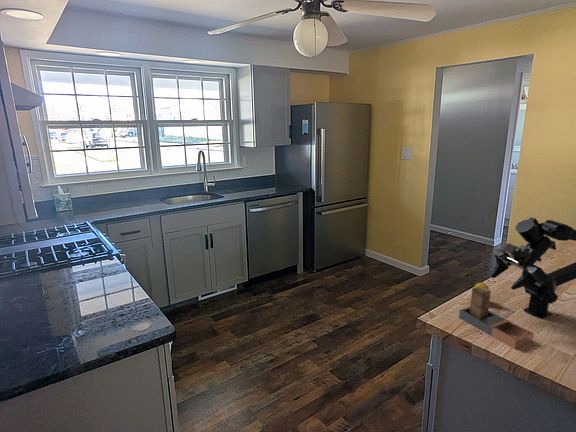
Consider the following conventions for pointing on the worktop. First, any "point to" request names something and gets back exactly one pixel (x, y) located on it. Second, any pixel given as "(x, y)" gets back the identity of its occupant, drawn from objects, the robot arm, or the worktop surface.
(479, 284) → the lemon
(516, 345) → the rail
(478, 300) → the peg
